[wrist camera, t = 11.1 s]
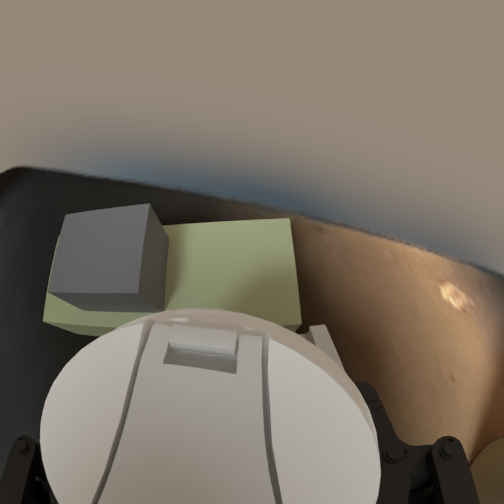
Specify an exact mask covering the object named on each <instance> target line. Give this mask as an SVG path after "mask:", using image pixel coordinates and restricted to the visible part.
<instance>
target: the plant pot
mask: <svg viewBox="0 0 504 504" xmlns="http://www.w3.org/2000/svg"><path fill="white" fill-rule="evenodd" d="M470 470H471V473H472V476H473V480H474V483H475V487H476V490H477V494H478V498H479V502H480V504H504V437H503V438H500V439H498V440H496V441H493V442H491V443H490V444H488V445H487V446H486V447H485V448H484V449H483V450H482V451H481V452H480V453H479V454H478V456H477V457H476V458H475V460H474V461H473V463H472V464H471V466H470Z"/></svg>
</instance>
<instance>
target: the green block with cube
mask: <svg viewBox="0 0 504 504" xmlns="http://www.w3.org/2000/svg"><path fill="white" fill-rule="evenodd" d="M187 308H202V309H221V310H227V311H232V312H238V313H244V314H248V315H251V316H254V317H257V318H261V319H264V320H267V321H270V322H273V323H275V324H277V325H280V326H282V327H284V328H286V329H288V330H290V331H292V332H295V331H296V330H297V329H298V328H299V327H300V326H301V324H302V321H301V311H300V301H299V291H298V282H297V273H296V265H295V257H294V249H293V241H292V233H291V226H290V218H284V219H261V220H241V221H223V222H207V223H192V224H178V225H165V226H162V225H161V223H160V221H159V219H158V218H157V216H156V214H155V212H154V210H153V209H152V207H151V205H150V204H141V205H132V206H124V207H116V208H108V209H101V210H93V211H86V212H80V213H73V214H67V215H66V216H65V219H64V222H63V226H62V229H61V233H60V236H59V238H58V242H57V245H56V250H55V254H54V258H53V263H52V267H51V272H50V277H49V283H48V289H47V295H46V301H45V309H44V317H43V321H44V322H46V323H49V324H51V325H54V326H57V327H59V328H62V329H65V330H67V331H70V332H73V333H76V334H80V335H91V336H102V335H104V334H107V333H109V332H111V331H113V330H115V329H116V328H118V327H120V326H122V325H124V324H127V323H129V322H131V321H133V320H136V319H138V318H140V317H144V316H147V315H151V314H155V313H159V312H162V311H169V310H178V309H187ZM298 335H300V336H302V337H303V338H305V339H306V340H308V339H309V331H308V332H307V333H306V334H298Z"/></svg>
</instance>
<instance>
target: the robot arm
mask: <svg viewBox="0 0 504 504" xmlns="http://www.w3.org/2000/svg"><path fill="white" fill-rule="evenodd" d="M308 341H309V342H311V343H312V344H314V345H315V346H317V347H318V348H320V349H321V350H322V351H324V352H325V353H326V354H327V355H328V356H329V357H330V358H331V359H332V360H333V361H335V362H336V363H337V364H338V365H339V366H340V367H341V368H342V369H343V370H344V368H343V365H342V363H341V360H340V358H339V356H338V353H337V351H336V348H335V346H334V344H333V341H332V339H331V337H330V334H329V332H328V330H327V328H326V325H316V326H309V339H308ZM344 371H345V370H344ZM345 373H346V372H345ZM355 385H356V387H357V388H358V390H359V391H360V393H361V395H362V397H363V399H364V401H365V403H366V404H367V406H368V408H369V410H370V413H371V416H372V419H373V423H374V426H375V429H376V432H377V441H378V449H379V456H380V468H381V478H380V486H379V493H378V498H377V501H376V504H480V502H479V498H478V494H477V490H476V487H475V483H474V480H473V476H472V473H471V470H470V467H469V464H468V461H467V458H466V455H465V452H464V449H463V446H462V444H461V443H460V441H459V440H458V439H456V438H455V437H451V436H444V437H441V438H439V439H438V440H437V441H436V442H435V443H434V444H433V445H421V446H411V445H408V444H406V443H404V442H403V441H401V440H400V439H399V438H398V437H397V435H396V434H395V431H394V429H393V427H392V425H391V422H390V420H389V418H388V416H387V414H386V411H385V409H384V408H383V405H382V403H381V401H380V400H379V397H378V394H377V392H376V390H375V389H374V388H373V387H372V386H371V385H370V384H369V383H368V382H366V381H365V382H360V383H355ZM39 439H40V434H39ZM36 476H38V477H39V478H38V480H36ZM0 504H59V503H58V501H57V500H56V498H55V495H54V493H53V491H52V489H51V486H50V484H49V482H48V479H47V476H46V472H45V468H44V465H43V461H42V454H41V445H40V443H36V442H35V441H34V440H33V439H32V438H31V437H29V436H25V435H23V436H20V437H18V438H17V439H16V440H15V441H14V443H13V446H12V448H11V451H10V454H9V457H8V460H7V463H6V466H5V469H4V472H3V476H2V479H1V483H0Z"/></svg>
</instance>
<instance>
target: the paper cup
mask: <svg viewBox="0 0 504 504" xmlns="http://www.w3.org/2000/svg"><path fill="white" fill-rule="evenodd" d="M40 445H41V454H42V461H43V465H44V468H45V472H46V476H47V479H48V482H49V484H50V486H51V489H52V491H53V493H54V495H55V498H56V500H57V501H58V503H59V504H376V501H377V498H378V493H379V486H380V478H381V468H380V456H379V449H378V441H377V432H376V429H375V426H374V423H373V419H372V416H371V413H370V410H369V408H368V406H367V404H366V403H365V401H364V399H363V397H362V395H361V393H360V391H359V390H358V388H357V387H356V385H355V384H354V383H353V382H352V380H351V379H350V378H349V377H348V375H347V374H346V373H345V371H344V370H343V369H342V368H341V367H340V366H339V365H338V364H337V363H336V362H335V361H333V360H332V359H331V358H330V357H329V356H328V355H327V354H326V353H325V352H324V351H322V350H321V349H320V348H318V347H317V346H315V345H314V344H312V343H311V342H309V341H308V340H306V339H305V338H303V337H302V336H300V335H298V334H296V333H294V332H292V331H290V330H288V329H286V328H284V327H282V326H280V325H277V324H275V323H273V322H270V321H267V320H264V319H261V318H257V317H254V316H251V315H248V314H244V313H238V312H232V311H227V310H221V309H202V308H187V309H178V310H169V311H162V312H159V313H155V314H151V315H147V316H144V317H140V318H138V319H136V320H133V321H131V322H129V323H127V324H124V325H122V326H120V327H118V328H116V329H115V330H113V331H111V332H109V333H107V334H104V335H102V336H100V337H99V338H97V339H96V340H94V341H93V342H91V343H90V344H88V345H87V346H85V347H84V348H82V349H81V350H80V351H79V352H78V353H77V354H76V355H75V356H74V357H73V358H72V359H71V360H70V361H69V362H68V363H67V364H66V365H65V367H64V368H63V369H62V371H61V372H60V374H59V375H58V377H57V378H56V380H55V381H54V383H53V385H52V387H51V389H50V391H49V394H48V396H47V398H46V401H45V405H44V409H43V413H42V418H41V429H40Z"/></svg>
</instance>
